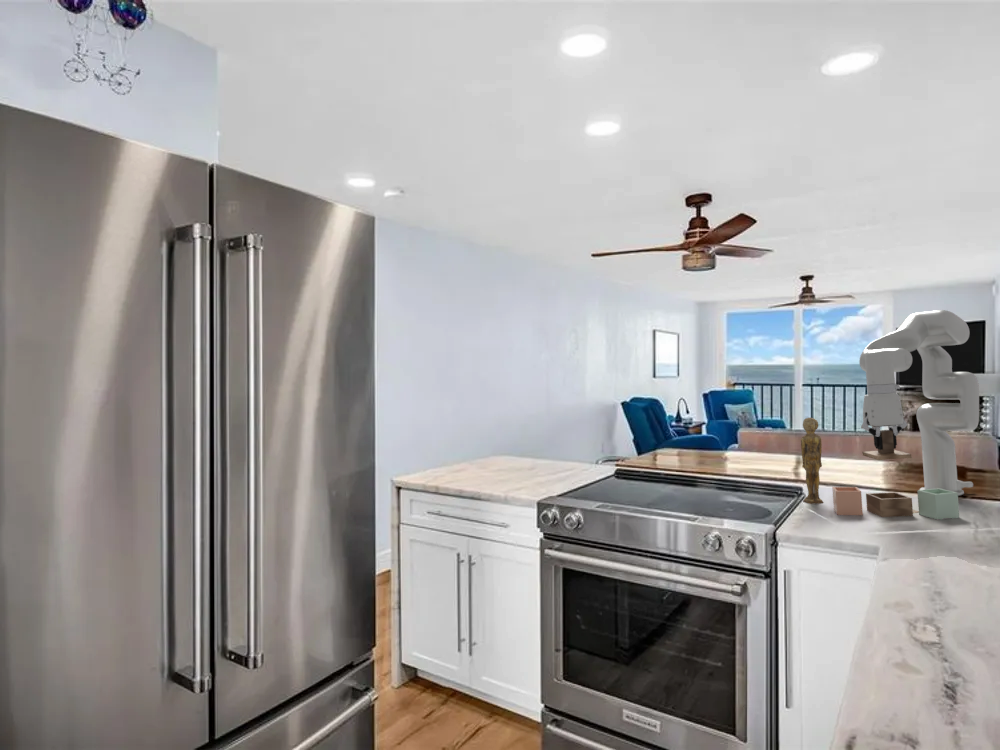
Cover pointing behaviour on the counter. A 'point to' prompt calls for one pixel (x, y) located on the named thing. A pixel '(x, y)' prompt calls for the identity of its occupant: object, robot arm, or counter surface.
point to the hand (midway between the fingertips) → (885, 447)
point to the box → (889, 504)
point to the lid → (886, 448)
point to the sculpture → (811, 459)
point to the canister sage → (938, 503)
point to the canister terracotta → (847, 501)
